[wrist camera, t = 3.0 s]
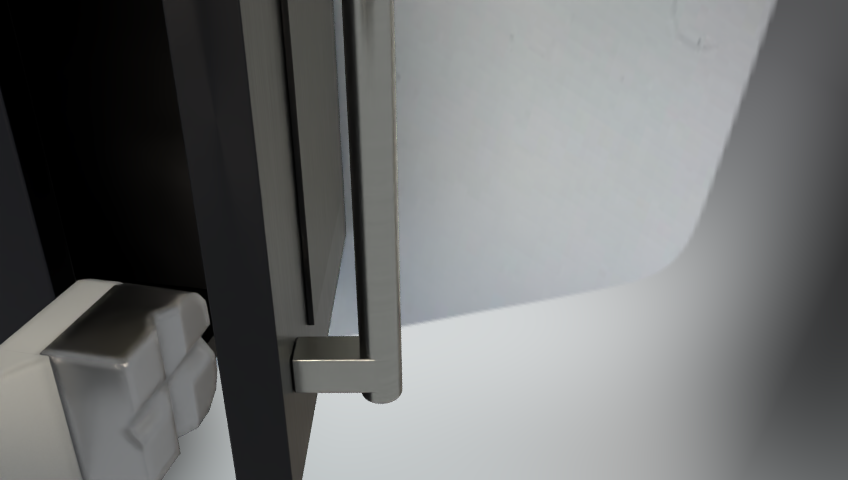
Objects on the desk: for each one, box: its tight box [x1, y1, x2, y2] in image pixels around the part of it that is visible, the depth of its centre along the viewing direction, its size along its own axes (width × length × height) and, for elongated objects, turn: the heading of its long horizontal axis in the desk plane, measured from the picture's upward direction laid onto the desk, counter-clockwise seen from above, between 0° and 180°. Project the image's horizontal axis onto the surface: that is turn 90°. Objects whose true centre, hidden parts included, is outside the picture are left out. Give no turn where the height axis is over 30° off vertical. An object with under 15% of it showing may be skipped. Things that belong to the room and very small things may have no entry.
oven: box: [0, 0, 217, 358], centre depth 27 cm, size 14×24×18 cm, turn 0°
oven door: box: [162, 0, 402, 480], centre depth 25 cm, size 5×24×18 cm, turn 0°
